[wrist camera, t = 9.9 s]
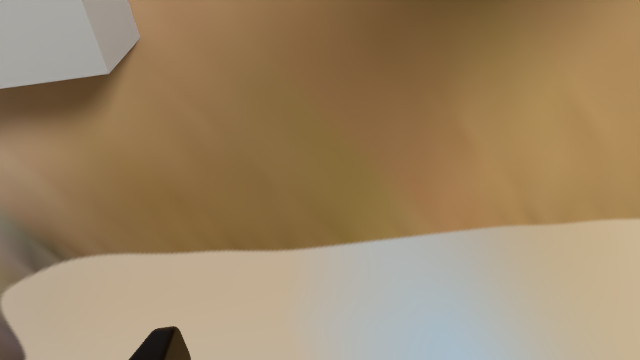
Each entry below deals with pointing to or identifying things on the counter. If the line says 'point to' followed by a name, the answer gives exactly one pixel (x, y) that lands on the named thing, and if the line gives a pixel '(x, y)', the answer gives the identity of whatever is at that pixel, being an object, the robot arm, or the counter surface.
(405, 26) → the counter surface
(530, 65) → the counter surface
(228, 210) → the counter surface
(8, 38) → the grey brick
